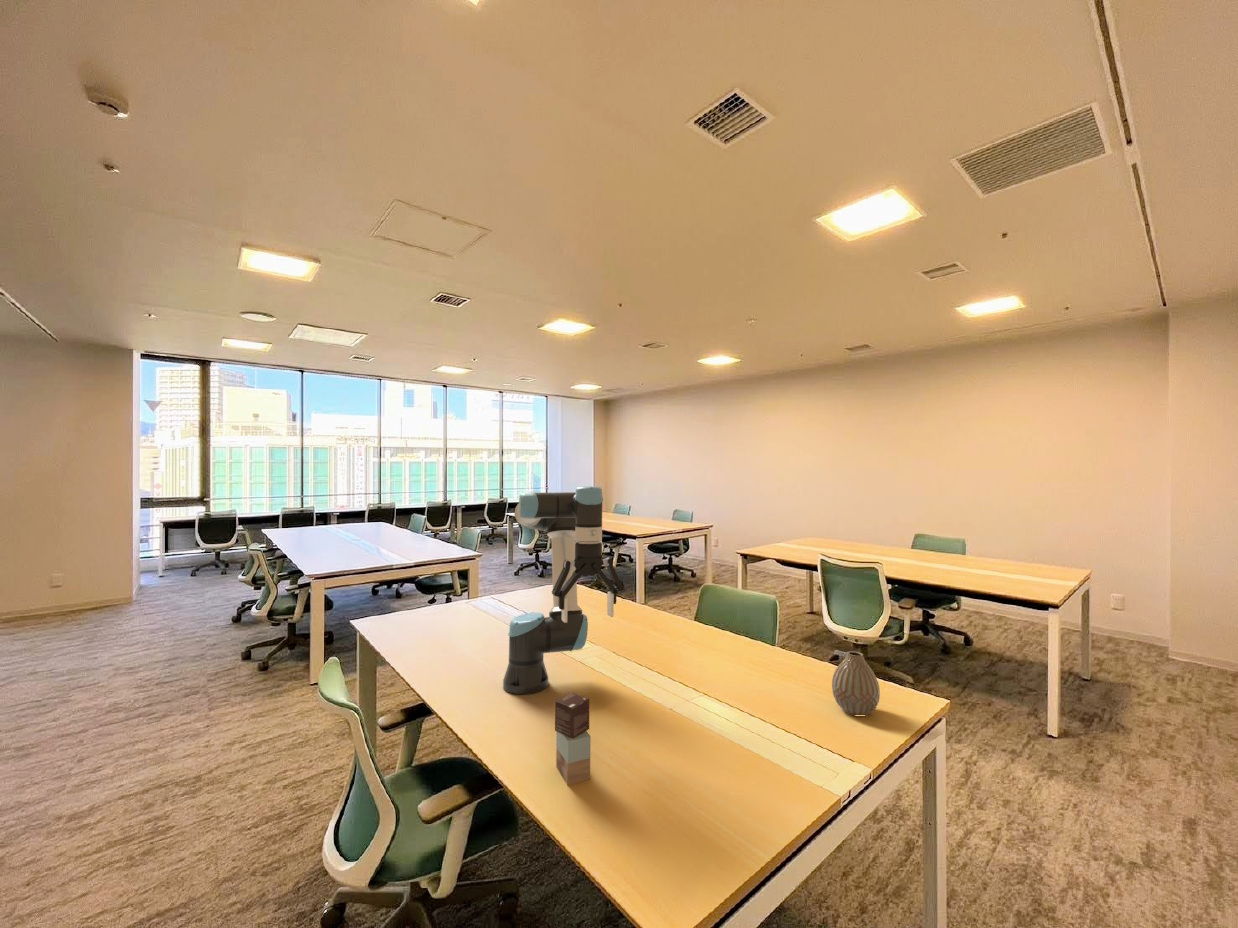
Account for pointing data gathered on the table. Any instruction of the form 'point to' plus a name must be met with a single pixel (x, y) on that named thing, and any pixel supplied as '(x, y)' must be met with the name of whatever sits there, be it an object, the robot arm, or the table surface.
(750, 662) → the table surface
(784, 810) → the table surface
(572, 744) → the tower top
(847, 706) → the vase
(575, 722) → the box
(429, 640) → the table surface
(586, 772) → the tower base
